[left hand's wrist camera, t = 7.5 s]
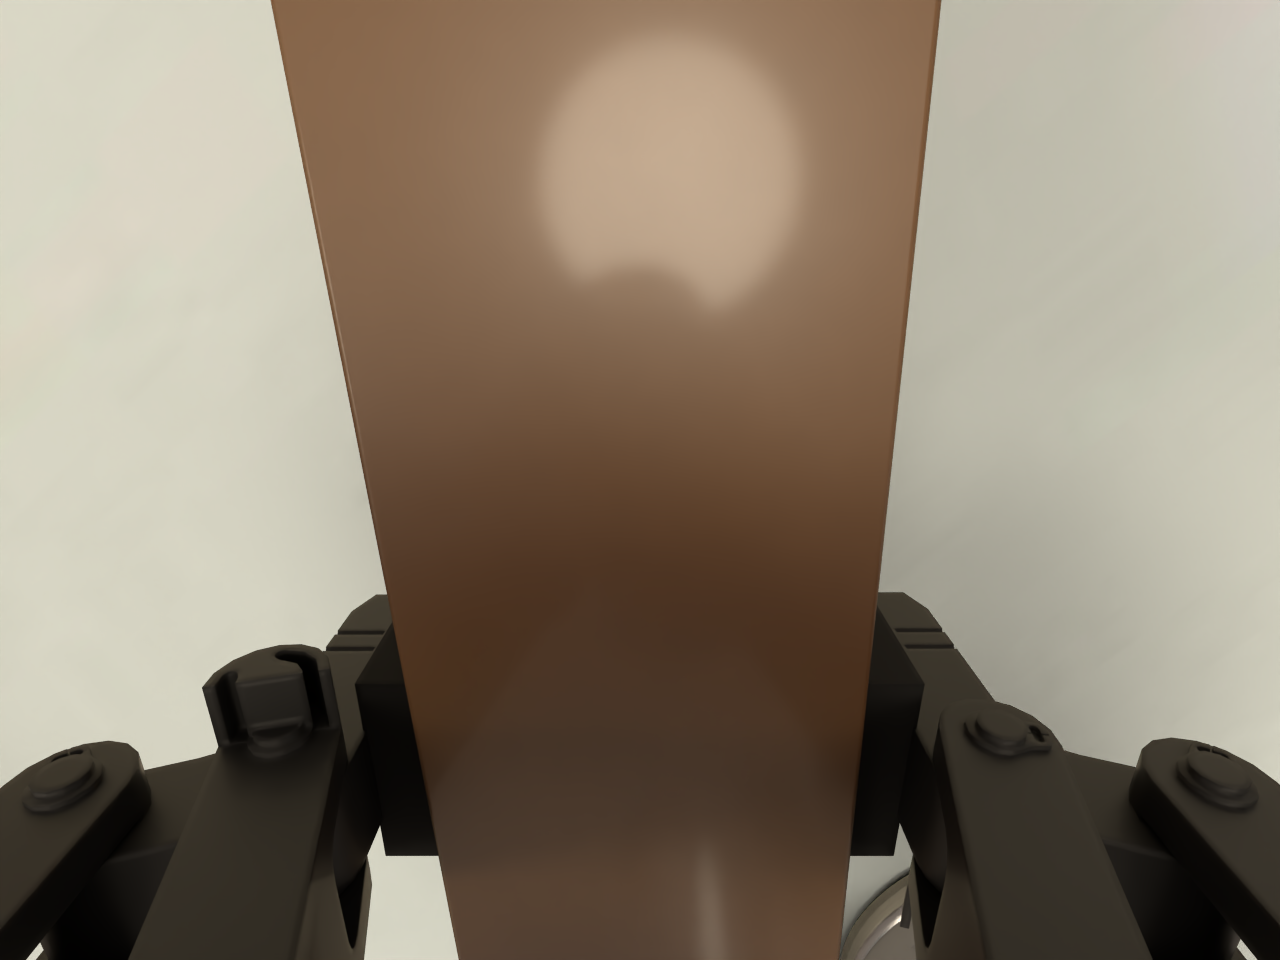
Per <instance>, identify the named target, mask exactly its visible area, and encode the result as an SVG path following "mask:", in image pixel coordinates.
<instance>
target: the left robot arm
mask: <svg viewBox="0 0 1280 960" xmlns="http://www.w3.org/2000/svg"><path fill="white" fill-rule="evenodd" d="M202 689H203V693H204V696H205V700H206V704H207V707H208V711H209V714H210V718H211V721H212V725H213V729H214V732H215V736H216V739H217V743H218V746H219V747H218V749H217V751H216V753H215V754H212V755H208V756H205V757H201V758H198V759H193V760H189V761H184V762H180V763H175V764H170V765H166V766H161V767H157V768H152V769H148V770H144V768H143V765H142V762H141V759H140V756H139V753H138V752H137V751H136V750H135V749H134V748H133V747H131V746H130V745H129V744H127V743H121V742H114V741H103V742H96V743H89V744H83V745H80V746H76V747H72V748H71V749H68V750H67V749H66V750H63V751H61V752H58V753H55V754H53V755H51V756H50V757H48V758H46V759H44V760H42V761H40V762H38V763H36V764H34V765H32V766H30V767H28V768H26V769H25V770H24V771H22V772H21V773H20V774H18V775H17V776H16V777H14V778H13V779H12V780H10V781H9V782H8V783H6V784H5V785H4V786H3V787H1V788H0V960H26V959H27V958H28V957H29V955H30V954H31V953H32V952H33V950H34V949H35V948H36V947H37V945H38V944H39V943H41V945H42V947H43V949H44V950H43V952H42V953H41V954H40V955H39V957H38V958H37V959H36V960H364V954H365V945H366V935H367V926H368V917H369V908H370V898H371V889H372V881H371V874H370V867H369V862H368V857H367V855H368V852H369V850H370V848H371V845H372V843H373V841H374V838H375V836H376V833H377V831H378V829H379V826H381V832H382V837H383V843H384V848H385V854H386V856H438V851H437V845H436V840H435V835H434V830H433V825H432V820H431V815H430V810H429V805H428V800H427V794H426V789H425V784H424V779H423V774H422V769H421V764H420V759H419V754H418V749H417V743H416V738H415V733H414V728H413V723H412V718H411V713H410V708H409V703H408V698H407V692H406V687H405V682H404V677H403V672H402V667H401V662H400V657H399V652H398V647H397V641H396V636H395V631H394V626H393V621H392V616H391V611H390V606H389V601H388V596H387V595H375V596H374V597H372V598H371V599H369V600H368V601H366V602H365V603H363V604H362V605H360V606H359V607H358V608H356V609H355V610H353V611H352V612H351V613H350V615H349V616H348V617H347V619H346V620H345V622H344V623H343V624H342V626H341V627H340V629H339V630H338V635H334V637H333V638H332V640H331V641H330V642H329V644H328V645H327V646H326V651H323V652H322V651H321V650H320V649H319V648H315V647H311V646H306V645H302V644H297V645H278V646H274V647H270V648H265V649H261V650H257V651H254V652H252V653H249V654H247V655H245V656H242V657H240V658H237V659H235V660H233V661H231V662H230V663H228V664H227V665H225V666H224V667H222V668H221V669H220V670H218V671H217V672H215V673H214V674H213V675H212V676H211V677H210V679H209V680H208V681H207V682H206V684H205V685H204V686H203V687H202ZM899 823H900V824H901V827H902V829H903V831H904V834H905V836H906V838H907V841H908V843H909V845H910V848H911V850H912V852H913V857H912V862H911V867H910V872H909V875H907V876H905V877H904V878H902V879H901V880H899V881H898V882H896V883H895V884H893V885H892V886H891V887H889V888H888V889H887V890H886V891H884V892H883V893H882V894H881V895H880V896H878V897H877V898H876V899H875V900H874V901H873V902H872V903H871V904H870V905H869V906H868V907H867V908H866V910H865V911H864V912H863V913H862V914H861V916H860V917H859V918H858V920H857V921H856V923H855V924H854V926H853V927H852V929H851V931H850V933H849V935H848V937H847V939H846V941H845V944H844V947H843V949H842V954H841V959H840V960H1246V958H1245V957H1244V956H1243V955H1242V953H1241V952H1240V951H1239V949H1238V948H1237V945H1238V943H1239V941H1240V939H1241V940H1242V941H1243V942H1244V944H1245V945H1246V946H1247V947H1248V948H1249V950H1250V951H1251V952H1252V953H1253V955H1254V956H1255V957H1256V958H1257V960H1280V785H1279V784H1278V783H1277V782H1276V781H1275V780H1273V779H1272V778H1271V777H1269V776H1268V775H1266V774H1265V773H1264V772H1262V771H1261V770H1260V769H1258V768H1257V767H1256V766H1254V765H1253V764H1251V763H1249V762H1247V761H1245V760H1243V759H1241V758H1239V757H1237V756H1235V755H1233V754H1231V753H1230V752H1228V751H1226V750H1223V749H1220V748H1218V747H1215V746H1210V745H1209V744H1205V743H1201V742H1198V741H1193V740H1185V739H1178V738H1166V739H1159V740H1152V741H1151V742H1150V743H1149V744H1148V745H1146V746H1145V747H1144V748H1143V749H1142V751H1141V754H1140V757H1139V760H1138V763H1137V766H1136V767H1132V766H1127V765H1123V764H1118V763H1114V762H1109V761H1105V760H1100V759H1096V758H1091V757H1087V756H1082V755H1078V754H1075V753H1071V752H1068V751H1064V750H1063V748H1062V745H1061V744H1060V743H1059V741H1058V740H1057V738H1056V737H1055V736H1054V734H1053V733H1052V731H1051V730H1050V729H1049V728H1047V727H1046V726H1045V725H1043V724H1042V723H1041V722H1040V721H1038V720H1037V719H1036V718H1034V717H1033V716H1031V715H1029V714H1027V713H1025V712H1023V711H1021V710H1019V709H1017V708H1015V707H1013V706H1010V705H1007V704H1003V703H999V702H995V701H994V699H993V698H992V696H991V695H990V694H989V692H988V691H987V690H986V688H985V687H984V685H983V684H982V683H981V681H980V680H979V679H978V677H977V676H976V674H975V673H974V672H973V670H972V669H971V668H970V666H969V665H968V664H967V662H966V661H965V659H964V658H963V657H962V655H961V654H960V653H959V651H958V650H957V649H954V644H953V643H952V642H951V640H950V639H949V637H948V636H947V635H946V633H945V632H942V628H941V626H940V625H939V624H938V622H937V621H936V620H935V618H934V617H933V616H932V614H931V613H930V611H929V610H928V609H927V608H925V607H924V606H923V605H921V604H920V603H918V602H917V601H915V600H914V599H912V598H911V597H909V596H908V595H906V594H905V593H903V592H878V599H877V608H876V617H875V627H874V636H873V645H872V655H871V664H870V673H869V683H868V692H867V702H866V711H865V720H864V730H863V739H862V748H861V758H860V767H859V776H858V786H857V795H856V804H855V814H854V823H853V833H852V842H851V851H850V856H894V851H895V845H896V840H897V834H898V829H899Z"/></svg>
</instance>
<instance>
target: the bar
mask: <svg viewBox="0 0 1280 960" xmlns="http://www.w3.org/2000/svg"><path fill="white" fill-rule="evenodd" d="M271 4H272V9H273V14H274V19H275V25H276V30H277V35H278V40H279V45H280V50H281V55H282V60H283V65H284V70H285V76H286V81H287V86H288V91H289V96H290V101H291V106H292V111H293V116H294V121H295V127H296V132H297V137H298V142H299V147H300V152H301V157H302V162H303V167H304V172H305V178H306V183H307V188H308V193H309V198H310V203H311V208H312V213H313V218H314V223H315V228H316V234H317V239H318V244H319V249H320V254H321V259H322V264H323V269H324V274H325V279H326V285H327V290H328V295H329V300H330V305H331V310H332V315H333V320H334V325H335V330H336V336H337V341H338V346H339V351H340V356H341V361H342V366H343V371H344V376H345V381H346V387H347V392H348V397H349V402H350V407H351V412H352V417H353V422H354V427H355V432H356V438H357V443H358V448H359V453H360V458H361V463H362V468H363V473H364V478H365V483H366V489H367V494H368V499H369V504H370V509H371V514H372V519H373V524H374V529H375V534H376V540H377V545H378V550H379V555H380V560H381V565H382V570H383V575H384V580H385V585H386V591H387V596H388V601H389V606H390V611H391V616H392V621H393V626H394V631H395V636H396V641H397V647H398V652H399V657H400V662H401V667H402V672H403V677H404V682H405V687H406V692H407V698H408V703H409V708H410V713H411V718H412V723H413V728H414V733H415V738H416V743H417V749H418V754H419V759H420V764H421V769H422V774H423V779H424V784H425V789H426V794H427V800H428V805H429V810H430V815H431V820H432V825H433V830H434V835H435V840H436V845H437V851H438V856H439V861H440V866H441V871H442V876H443V881H444V886H445V891H446V896H447V902H448V907H449V912H450V917H451V922H452V927H453V932H454V937H455V942H456V947H457V953H458V958H459V960H839V954H840V945H841V936H842V926H843V917H844V907H845V898H846V889H847V879H848V870H849V861H850V851H851V842H852V833H853V823H854V814H855V804H856V795H857V786H858V776H859V767H860V758H861V748H862V739H863V730H864V720H865V711H866V702H867V692H868V683H869V673H870V664H871V655H872V645H873V636H874V627H875V617H876V608H877V599H878V589H879V580H880V570H881V561H882V552H883V542H884V533H885V524H886V514H887V505H888V496H889V486H890V477H891V467H892V458H893V449H894V439H895V430H896V421H897V411H898V402H899V393H900V383H901V374H902V364H903V355H904V346H905V336H906V327H907V318H908V308H909V299H910V290H911V280H912V271H913V262H914V252H915V243H916V233H917V224H918V215H919V205H920V196H921V187H922V177H923V168H924V159H925V149H926V140H927V130H928V121H929V112H930V102H931V93H932V84H933V74H934V65H935V56H936V46H937V37H938V27H939V18H940V9H941V0H271Z"/></svg>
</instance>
